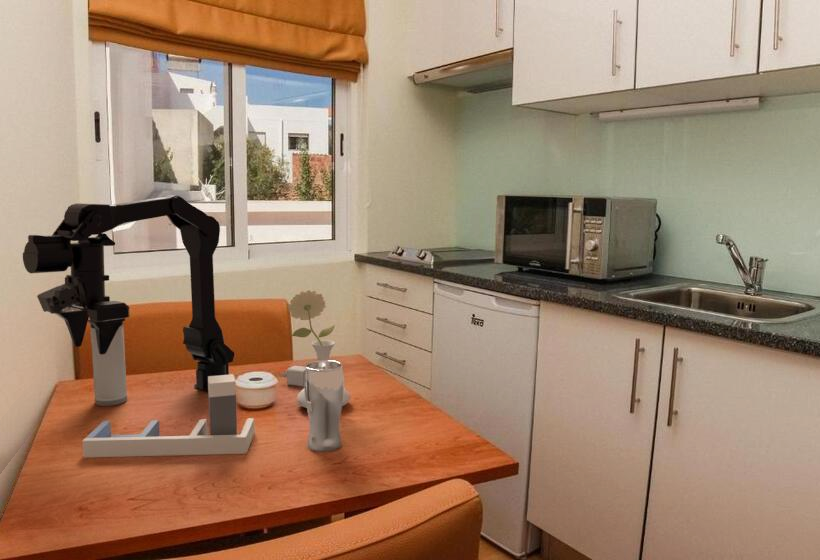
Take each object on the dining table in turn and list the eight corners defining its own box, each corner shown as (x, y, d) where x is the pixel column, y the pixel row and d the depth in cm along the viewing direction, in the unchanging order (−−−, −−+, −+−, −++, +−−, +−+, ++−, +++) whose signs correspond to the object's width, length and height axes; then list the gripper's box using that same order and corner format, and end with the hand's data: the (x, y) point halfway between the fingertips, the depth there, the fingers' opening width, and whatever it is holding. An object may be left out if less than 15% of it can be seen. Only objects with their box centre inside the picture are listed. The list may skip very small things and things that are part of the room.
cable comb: (254, 433, 119) (254, 418, 119) (246, 453, 110) (246, 437, 110) (104, 436, 117) (103, 421, 116) (83, 457, 108) (82, 440, 107)
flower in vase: (351, 397, 141) (351, 286, 137) (348, 415, 129) (348, 295, 126) (293, 397, 140) (291, 285, 137) (284, 415, 129) (282, 294, 125)
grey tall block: (209, 439, 116) (207, 376, 114) (235, 436, 118) (233, 374, 116) (211, 448, 112) (208, 383, 110) (237, 445, 114) (235, 381, 112)
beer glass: (350, 441, 116) (350, 361, 114) (333, 455, 110) (333, 372, 108) (316, 435, 119) (315, 358, 116) (298, 449, 112) (296, 368, 110)
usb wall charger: (302, 387, 147) (302, 371, 146) (277, 384, 149) (277, 367, 149) (311, 383, 151) (311, 366, 150) (286, 379, 153) (286, 363, 153)
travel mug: (133, 397, 139) (129, 307, 136) (117, 407, 132) (111, 313, 130) (106, 395, 139) (101, 306, 137) (88, 405, 133) (83, 312, 130)
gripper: (19, 268, 119) (22, 349, 121) (69, 277, 108) (71, 366, 110) (79, 265, 128) (81, 340, 130) (130, 273, 117) (131, 355, 119)
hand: (89, 350), depth 122 cm, fingers open, 9 cm apart
